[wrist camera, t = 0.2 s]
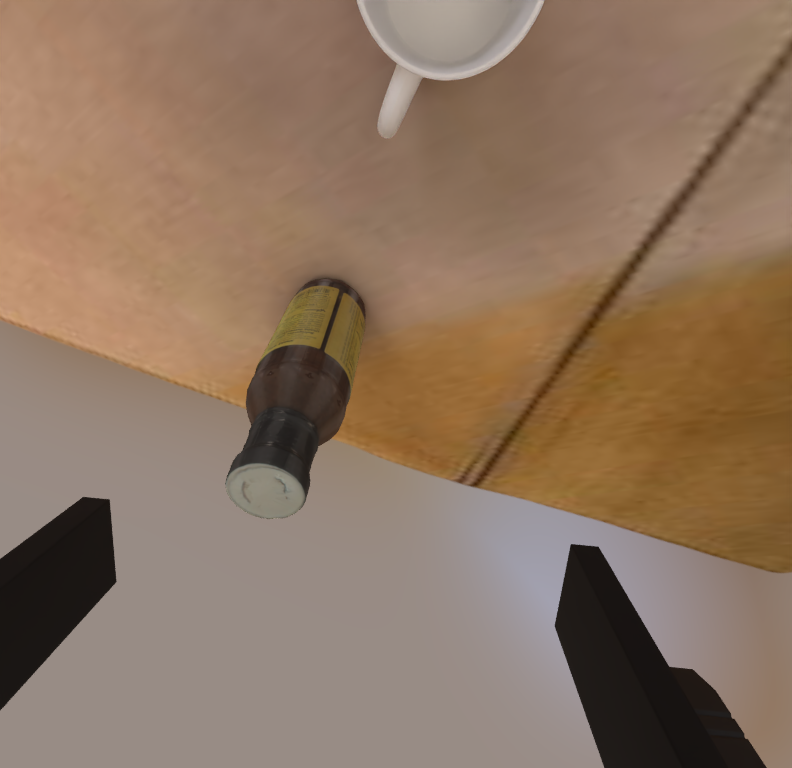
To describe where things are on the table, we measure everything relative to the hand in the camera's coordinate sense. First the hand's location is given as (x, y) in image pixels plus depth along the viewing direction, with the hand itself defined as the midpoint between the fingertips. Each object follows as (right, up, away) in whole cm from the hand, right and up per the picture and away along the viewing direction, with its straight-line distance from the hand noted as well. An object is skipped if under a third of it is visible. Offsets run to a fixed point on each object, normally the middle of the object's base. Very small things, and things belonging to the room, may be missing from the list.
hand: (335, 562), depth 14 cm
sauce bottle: (-3, +11, +27) cm, 29 cm away
